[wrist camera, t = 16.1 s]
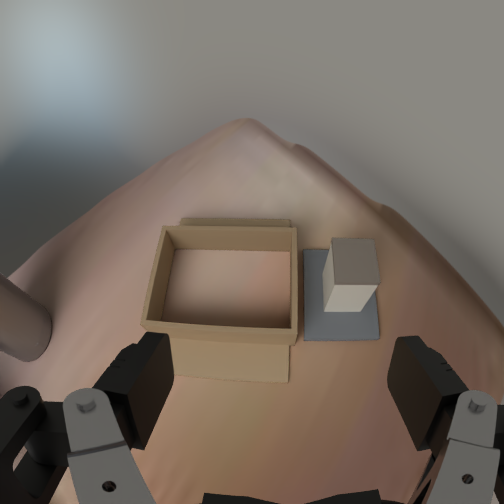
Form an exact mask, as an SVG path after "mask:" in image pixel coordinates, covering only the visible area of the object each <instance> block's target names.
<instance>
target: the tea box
mask: <svg viewBox="0 0 504 504" xmlns="http://www.w3.org/2000/svg"><path fill="white" fill-rule="evenodd" d="M322 277H323V301H324V312H360V311H361V310H362V309H363V307H364V306H365V304H366V303H367V301H368V300H369V298H370V297H371V295H372V294H373V292H374V291H375V289H376V287H377V286H378V285H379V284H380V283H381V282H380V275H379V268H378V261H377V255H376V248H375V242H374V239H359V238H332V240H331V246H330V249H329V253H328V256H327V260H326V263H325V267H324V270H323V274H322Z"/></svg>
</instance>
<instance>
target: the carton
mask: <svg viewBox="0 0 504 504" xmlns="http://www.w3.org/2000/svg"><path fill="white" fill-rule="evenodd" d="M175 249H204V250H247V251H289V252H290V326H289V329H281V328H251V327H230V326H213V325H198V324H185V323H173V322H161V318H162V312H163V307H164V301H165V296H166V291H167V285H168V280H169V275H170V270H171V266H172V261H173V256H174V251H175ZM297 322H298V271H297V228H290V220H277V219H181V221H180V226H163V227H162V231H161V235H160V239H159V243H158V247H157V251H156V255H155V259H154V263H153V267H152V271H151V276H150V280H149V285H148V289H147V294H146V298H145V303H144V308H143V313H142V318H141V323H140V325H141V326H142V327H143V328H145V329H146V330H147V331H148V332H157V333H167V334H168V335H169V338H170V344H171V352H172V360H173V367H174V375H180V376H188V377H198V378H208V379H220V380H233V381H249V382H272V383H288V369H289V346H294V345H295V341H296V338H297Z"/></svg>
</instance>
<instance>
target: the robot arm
mask: <svg viewBox="0 0 504 504" xmlns="http://www.w3.org/2000/svg"><path fill="white" fill-rule="evenodd" d="M50 336H51V319H50V316H49V313H48V312H47V310H46V309H45V308H44V307H43V306H42V305H40V304H39V303H38V302H36V301H35V300H34V299H32V298H31V297H30V296H29V295H27V294H26V293H25V292H23V291H22V290H21V289H20V288H18V287H17V286H16V285H15V284H13V283H12V282H11V281H10V280H8V279H7V278H6V277H5V276H4V275H2V274H1V273H0V350H1V351H3V352H4V353H7V354H9V355H11V356H13V357H15V358H17V359H19V360H22V361H25V362H29V361H33V360H35V359H37V358H38V357H39V356H40V355H41V354H42V353H43V352H44V350H45V349H46V347H47V345H48V343H49V340H50ZM173 381H174V367H173V360H172V352H171V344H170V338H169V335H168V334H167V333H157V332H146V333H145V334H144V336H143V337H142V338H141V340H140V341H139V342H138V344H133V343H132V344H131V345H129V346H127V347H126V348H124V349H122V350H121V351H120V353H119V354H118V355H117V356H116V358H115V360H113V362H112V363H111V364H110V367H108V368H107V369H106V370H105V372H104V373H103V374H102V376H101V377H100V378H99V380H98V381H97V382H96V383H95V385H94V386H93V387H92V388H84V389H79V390H76V391H74V392H72V393H71V394H69V395H68V396H67V397H66V398H65V400H64V402H47V401H43V400H42V398H41V396H40V393H39V392H38V390H37V389H35V388H33V387H30V386H20V387H16V388H13V389H11V390H10V391H8V392H7V393H6V394H5V395H4V396H3V397H2V398H1V399H0V504H49V502H50V500H51V498H52V496H53V494H54V492H55V490H56V488H57V486H58V484H59V482H60V481H61V479H62V477H63V475H64V473H65V471H66V469H67V467H69V468H70V472H71V476H72V480H73V484H74V487H75V491H76V495H77V498H78V501H79V504H156V502H155V500H154V499H153V497H152V495H151V493H150V491H149V489H148V487H147V485H146V483H145V481H144V479H143V477H142V475H141V473H140V471H139V469H138V467H137V465H136V463H135V461H134V459H133V456H132V454H131V452H130V451H131V449H132V448H136V449H140V450H144V449H145V447H146V445H147V442H148V440H149V438H150V436H151V433H152V431H153V429H154V426H155V424H156V422H157V420H158V417H159V415H160V413H161V411H162V408H163V406H164V404H165V402H166V399H167V397H168V395H169V393H170V390H171V388H172V385H173ZM387 383H388V388H389V391H390V393H391V395H392V397H393V399H394V401H395V403H396V405H397V408H398V410H399V412H400V414H401V416H402V418H403V420H404V423H405V425H406V427H407V429H408V431H409V434H410V436H411V438H412V440H413V443H414V445H415V447H416V449H417V451H422V450H426V449H431V451H432V453H431V455H430V457H429V459H428V461H427V463H426V466H425V468H424V471H423V473H422V475H421V477H420V480H419V482H418V484H417V486H416V488H415V490H414V492H413V495H412V497H411V498H410V500H409V502H408V504H491V500H492V496H493V491H494V492H495V494H496V497H497V499H498V501H499V504H504V405H497V403H496V401H495V400H494V399H493V398H492V397H491V396H490V395H489V394H487V393H485V392H482V391H478V390H469V389H468V388H467V386H466V385H465V384H464V383H463V381H462V380H461V379H460V377H459V376H458V375H457V374H456V372H455V371H454V370H452V367H451V366H450V365H449V364H447V361H446V360H445V359H444V358H443V356H442V355H441V354H440V353H438V352H436V351H435V350H433V349H432V348H428V347H427V346H426V344H425V343H424V342H423V341H422V339H421V338H420V337H419V336H405V337H398V338H397V340H396V342H395V346H394V350H393V355H392V359H391V363H390V367H389V371H388V376H387ZM23 446H25V448H26V449H27V452H26V453H25V455H24V456H23V458H22V459H21V461H20V463H19V464H18V466H17V467H16V469H15V470H14V472H13V462H14V459H15V458H16V456H17V455H18V453H19V452H20V450H21V449H22V448H23ZM201 504H279V503H274V502H269V501H264V500H260V499H256V498H251V497H246V496H231V495H220V494H210V493H204V496H203V501H202V503H201ZM306 504H404V503H400V502H395V501H389V500H381V498H380V495H379V491H378V489H377V490H370V491H364V492H356V493H348V494H339V495H335V496H332V497H328V498H325V499H321V500H317V501H314V502H310V503H306Z"/></svg>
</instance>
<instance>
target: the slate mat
mask: <svg viewBox="0 0 504 504" xmlns="http://www.w3.org/2000/svg"><path fill="white" fill-rule="evenodd" d="M328 253H329V250H308V249H303V271H304V341H355V340H378V339H379V326H378V315H377V305H376V296H375V291H374V292H373V294H372V295H371V297H370V298H369V300H368V301H367V303H366V304H365V306H364V307H363V309H362V310H361V311H360V312H324V301H323V277H322V274H323V270H324V267H325V263H326V260H327V256H328Z"/></svg>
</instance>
